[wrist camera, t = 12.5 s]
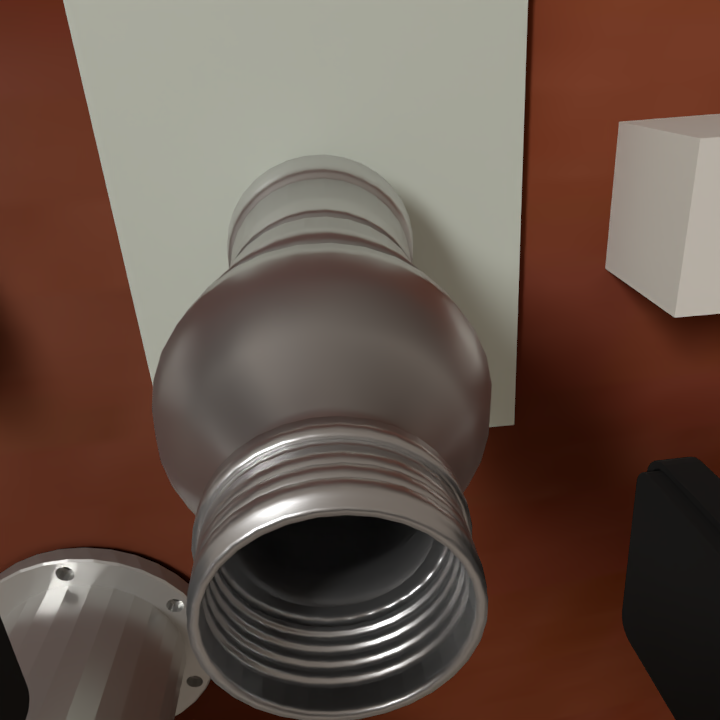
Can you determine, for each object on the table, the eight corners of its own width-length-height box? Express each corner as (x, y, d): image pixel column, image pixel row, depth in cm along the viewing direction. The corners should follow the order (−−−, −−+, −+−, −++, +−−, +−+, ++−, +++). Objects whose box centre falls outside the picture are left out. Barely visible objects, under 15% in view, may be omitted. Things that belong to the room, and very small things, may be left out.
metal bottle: (411, 292, 27) (611, 749, 9) (252, 318, 27) (140, 825, 9) (393, 132, 25) (625, 337, 7) (216, 160, 25) (-41, 443, 7)
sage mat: (510, 418, 31) (514, 424, 31) (172, 452, 31) (169, 459, 30) (525, -83, 23) (530, -86, 22) (57, -48, 22) (51, -51, 22)
